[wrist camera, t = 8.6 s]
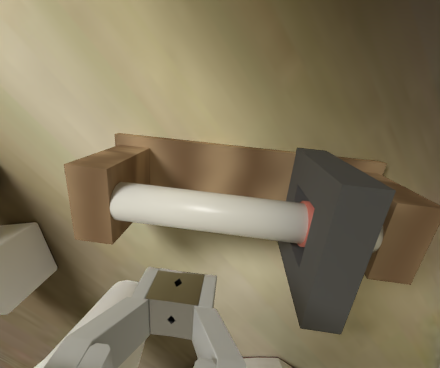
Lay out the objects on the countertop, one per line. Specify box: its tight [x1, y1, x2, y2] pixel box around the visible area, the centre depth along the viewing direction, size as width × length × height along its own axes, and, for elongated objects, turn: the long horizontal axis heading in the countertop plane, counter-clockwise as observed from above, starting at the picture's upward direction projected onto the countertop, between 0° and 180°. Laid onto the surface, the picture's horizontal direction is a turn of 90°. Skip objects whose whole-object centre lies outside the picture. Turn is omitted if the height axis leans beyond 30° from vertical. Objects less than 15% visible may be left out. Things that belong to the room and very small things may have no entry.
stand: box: [64, 133, 440, 285], centre depth 20 cm, size 26×8×8 cm, turn 85°
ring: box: [278, 148, 396, 334], centre depth 17 cm, size 2×10×10 cm, turn 175°
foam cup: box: [34, 280, 145, 368], centre depth 25 cm, size 10×9×13 cm
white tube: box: [110, 182, 383, 253], centre depth 17 cm, size 23×3×3 cm, turn 85°
